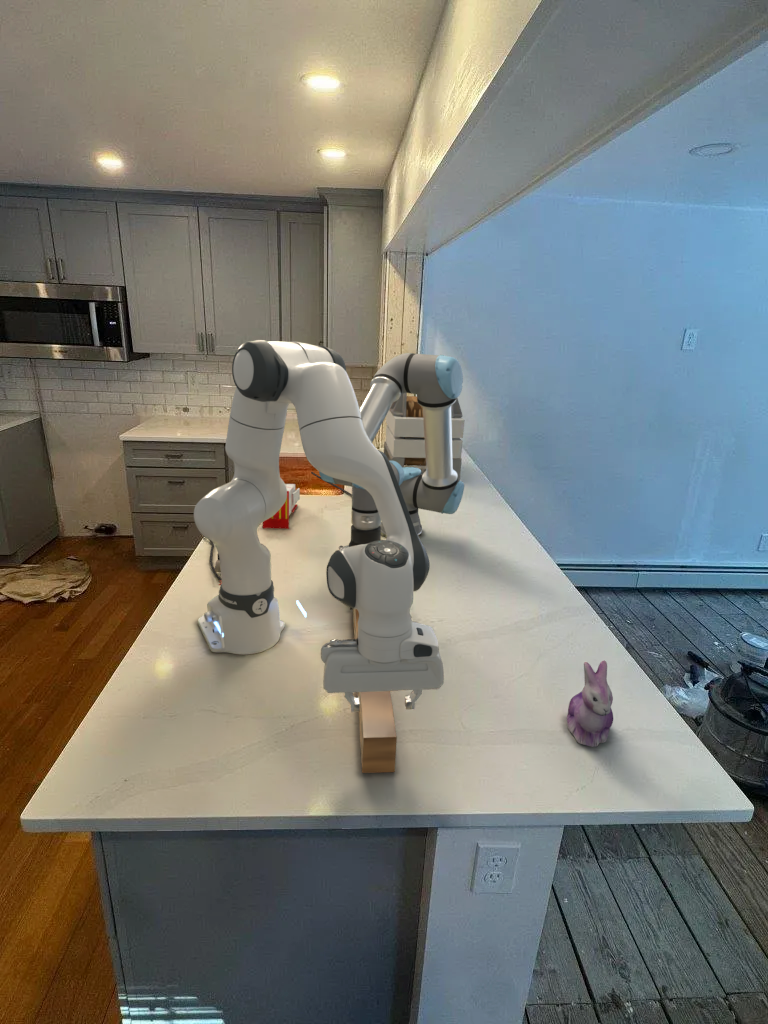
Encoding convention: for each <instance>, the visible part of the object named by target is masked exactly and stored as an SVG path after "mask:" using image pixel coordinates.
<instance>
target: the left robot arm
mask: <svg viewBox="0 0 768 1024" xmlns="http://www.w3.org/2000/svg"><path fill="white" fill-rule="evenodd" d="M231 363H232V365H231V373H232V380H233V383H234V385H235V387H236V388H235V390H234V394H233V398H232V402H231V406H230V413H229V418H228V426H227V432H226V433H227V434H226V437H225V438H226V439H225V446H224V449H225V454H226V456H227V457H228V459H230V461H232V462H233V468H234V473H233V476H232V478H231V480H230V481H229V482H227V483H224V484H223V485H220V486H218V487H216V488H214V489H212V490H210V491H208V493H207V494H205V495H204V496H203V497H202V498H201V499H199V501H198V502H197V503H196V504H195V506H194V509H193V521H194V524H195V528H196V529H197V530H198V532H199V533H200V534H201V535H202V536H203V537H202V539H208V541H209V543H210V544H211V546H210V547H211V548H210V552H209V565H210V569H211V571H212V573H213V575H214V576H215V577H216V579H217V580H218V586H219V589H218V594H217V595H216V596H214V597H212V598H210V600H209V601H208V602H207V605H206V612H204V613H203V615H201V616H200V617H199V618H198V619H197V624H198V627H199V628H200V631H201V634H202V635H203V637H204V639H205V641H206V643H207V645H208V647H209V650H210V652H212V653H229V654H234V655H254V654H258V653H262V652H265V651H268V650H269V649H271V648H273V647H274V646H275V645H276V644H277V643H278V642H279V641H280V639H281V633H282V632H283V630H284V629H285V627H286V624H285V621H284V620H281V614H280V607H279V599H278V598H277V597H275V587H274V581H273V580H272V556H271V551H270V550H269V548H268V546H266V545H265V544H263V543H262V542H261V541H260V537H259V534H258V530H259V526H260V525H261V524H263V522H264V521H265V520H267V519H269V518H271V517H272V516H274V515H275V514H276V513H277V512H278V511H279V509H280V508H281V507H282V506H283V505H284V503H285V501H286V498H287V489H286V486H285V484H286V483H285V481H284V479H282V477H281V474H280V456H281V449H282V442H283V438H284V433H285V432H284V431H285V427H286V426H285V425H286V421H287V415H288V409H289V406H290V404H292V405H293V407H294V408H295V411H296V412H295V413H296V418H297V424H298V432H299V436H300V440H301V445H302V446H301V447H302V448H303V453H304V456H305V457H306V460H307V461H308V463H309V464H310V465H311V466H312V467H313V468H314V469H316V470H317V471H318V472H319V471H320V472H321V473H323V474H325V475H327V476H330V477H333V478H336V479H340V480H344V481H348V482H351V483H354V484H357V485H359V486H361V487H363V488H364V489H366V490H367V491H368V492H369V493H370V494H371V496H372V497H373V499H374V502H375V504H376V507H377V510H378V513H379V515H380V518H381V522H382V524H383V526H384V529H385V532H386V535H387V537H386V539H381V540H377V541H373V542H370V543H368V544H361V545H356V546H351V547H346V548H343V549H340V550H339V549H337V550H335V551H334V552H333V553H332V554H331V556H330V558H329V560H328V562H327V564H326V572H325V573H326V574H325V575H326V583H327V589H328V592H329V594H330V595H331V596H332V597H333V598H334V599H335V600H337V601H339V602H340V603H342V604H343V605H344V606H346V607H348V608H349V609H350V608H352V609H354V608H356V609H357V610H358V612H359V619H358V638H357V639H354V638H346V639H336V638H335V639H331V640H329V642H325V643H324V644H323V645H322V646H321V649H320V659H321V661H322V663H323V664H324V666H323V678H322V680H323V682H322V684H323V685H322V686H323V689H324V691H326V692H327V694H344V698H345V700H346V701H347V702H348V703H349V705H350V712H351V713H356V712H358V713H359V711H360V708H359V707H360V702H359V697H358V696H356V697H355V696H354V693H357V692H375V691H390V692H399V691H411V693H410V694H408V695H405V696H404V706H405V711H406V710H407V711H408V710H415V708H416V702H417V701H418V700H419V698H420V697H421V696H422V694H423V691H426V690H427V691H428V690H439V689H440V688H441V687H443V685H444V683H445V682H444V681H445V671H444V670H445V669H444V663H443V660H442V656H441V653H440V645H439V640H438V637H437V634H436V632H435V630H434V628H433V627H432V626H430V625H428V624H424V623H420V622H416V621H413V619H412V615H411V608H412V606H413V604H414V592H417V591H419V590H420V589H421V587H422V586H423V585H424V583H425V582H426V579H427V578H428V576H429V572H430V569H431V568H430V567H431V564H430V562H431V561H430V557H429V555H428V551H427V549H426V547H425V546H424V544H423V542H422V541H421V539H420V537H418V535H417V533H416V530H415V528H414V525H413V522H412V520H411V517H410V514H409V511H408V509H407V506H406V503H405V500H404V497H403V495H402V492H401V489H400V487H399V484H398V481H397V479H396V476H395V473H394V471H393V469H392V466H391V464H390V462H389V460H388V458H387V456H386V455H385V454H384V451H381V450H379V449H377V447H376V446H375V444H374V443H373V442H371V441H370V439H369V437H368V436H367V434H366V431H365V429H364V426H363V422H362V418H361V413H360V406H359V401H358V398H357V394H356V391H355V389H354V387H353V386H354V385H353V384H352V382H351V379H350V376H349V374H348V373H347V372H348V371H347V366H346V363H345V360H344V358H343V357H342V355H341V354H340V353H339V352H337V350H334V349H333V348H330V347H327V346H325V345H314V344H311V343H306V342H301V341H279V340H278V341H267V340H264V339H256V340H249V341H246V342H243V343H242V344H241V345H240V346H239V347H238V349H237V350H236V351H235V354H234V356H233V359H232V362H231ZM204 537H205V538H204ZM214 548H216V551H217V554H219V559H220V568H221V572H220V575H219V574H218V572H215V566H214V562H213V555H214V550H215V549H214ZM296 605H297V607H298V609H299V610H300V611H301V613H302V615H303V616H304V618H307V617H308V616H307V611H305V609H304V608H303V606H302V604H301V603H300V601H299V600H296Z"/></svg>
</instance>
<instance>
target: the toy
mask: <svg viewBox="0 0 768 1024" xmlns="http://www.w3.org/2000/svg"><path fill="white" fill-rule="evenodd" d="M285 486H286V489H287V498H286V501H285V503H284V505H283V506H282V507H281V508H280V509H279V511H278V512H277V513H276V514H275V515H274V516H272V517H271V518H269V519H267V520H265V521H264V522H262V529H282V530H283V529H284V530H285V529H286V530H289V529H290V515H291V513H294V512H295V510H296V509H297V507H298V504H297V503H298V502H299V501H300V499H301V490H300V487H298V488H297V489H296V484H295V483H285Z"/></svg>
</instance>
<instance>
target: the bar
mask: <svg viewBox="0 0 768 1024" xmlns="http://www.w3.org/2000/svg"><path fill="white" fill-rule="evenodd" d="M358 619H359V612H358V610H357V609H356V608H354V609H353V610H352V621H353V637H354V638H353V639H357V638H358ZM356 693H357V697H359V702H360V707H359V708H360V711H359V712H358V725H359V726H358V727H359V745H360V761H361V763H360V764H361V773H362V774H372V773H373V774H374V773H375V774H376V773H395V772H396V758H397V757H396V755H397V741H398V736H397V729H396V723H395V722H396V721H395V715H394V708H393V700H392V694H391V693H392V692H391V691H375V692H356Z"/></svg>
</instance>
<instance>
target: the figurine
mask: <svg viewBox="0 0 768 1024" xmlns="http://www.w3.org/2000/svg"><path fill="white" fill-rule="evenodd" d="M583 676H584V677H583V678H584V686H583V688H582V690H581V691H580V692H579V693H577V694H575V695H574V696H572V698H571V699H570V700H569V703H568V709H567V714H566V725H567V728H568V731H569V732H570V733H571V734H572V736H573V737H574V738H575V740H576V742H577V743H578V744H580V745H584V746H588V747H593V748H596V747H598V746H599V745H600V744H601V743H602V744H603V743H605V742H606V741H607V739H608V737H609V734H610V728H611V727H612V726H613V723H614V712H613V709H612V704H613V701H614V697H613V692H612V689H611V687H610V686H609V684H608V680H607V677H608V663H607V661H606V660H602V661H600V663H599V664H598V667H597V670H596V671H595V670H594V669H593V667H592V665H591V664H590V663H589V662H588V661H584V662H583Z"/></svg>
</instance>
